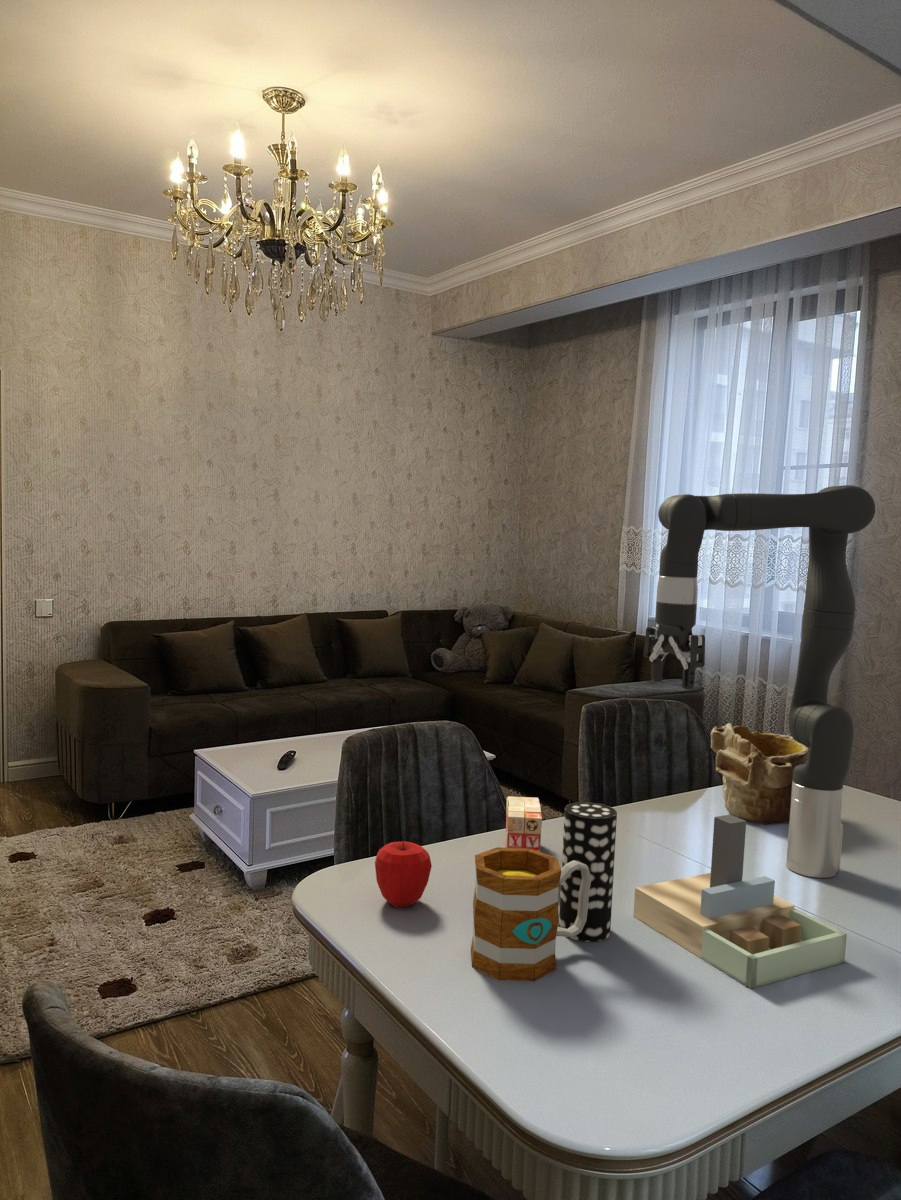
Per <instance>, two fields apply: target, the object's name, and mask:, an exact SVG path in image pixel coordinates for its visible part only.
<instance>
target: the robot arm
mask: <svg viewBox="0 0 901 1200" xmlns="http://www.w3.org/2000/svg"><path fill="white" fill-rule="evenodd" d="M657 513H658V514H657V516H658V521H659V523H660V525H662V526H663V527H664V528H665V529H666V530H668V533H667V539H666V540H667V541H666V545H665V546H664V547H663V548H661V552H660V557H659V574H658V581H657V586H656V587H657V588H656V598H655V599H656V600H655V616H654V617H655V618H654V619H655V621H654V622H655V624H656V625H658V626H651V627H650V626H649V627H646V628H645V636H644V646H643V657H644V658H648V659H649V661H650V662H651V663H650V679H651V681H652V682H662V681H663V677H664V676H663V675H664V674H663V673H664V672H663V671H664V662H663V660H664V659H665V658H666V656H667V655H668V654H671V655H674V656H676V658H677V659H678V660H680V663H681V665H682V667H683V669H682V672H681V673H682V677H681V689H683V690H692V689H693V688H694V686H695V678H696V671H697V669H699V668H703V667H705V665H706V664H705V662H706V661H705V660H706V636H705V635H704V634H693V627H695V626H696V624H697V610H698V608H697V607H698V593H699V592H698V591H699V588H698V586H699V585H698V571H699V570H698V568H699V567H698V566H699V553H700V550H701V547H702V543H703V538H704V535H705V531H712V530H713V531H721V532H737V531H738V532H740V531H741V532H742V531H743V532H745V531H759V530H763V531H764V530H773V529H787V528H808V545H809V546H808V565H807V573H806V574H807V575H806V582H805V596H804V603H803V609H802V610H803V612H802V620H801V621H802V622H801V636H800V645H799V646H800V648H799V654H798V664H797V670H796V677H795V682H794V687H793V692H792V697H791V702H790V706H789V713H788V722H787V723H788V724H787V725H788V730H789V734H790V736H791V737H793V739H794V740H795V741H797V742H798V743H800V744H803V745H805V746H806V747H807V748H808V747H809V748H810V750H809V753H808V754H809V757H808V760H807V762H806V763H804V764H800V765H797V766H796V767H795V768H794V770H793V779H792V793H791V808H790V821H789V822H788V823H789V824H788V837H787V849H786V850H787V851H786V863H785V864H786V867H787V868H788V869H789V870H790V871H792V872H793V873H796V874H799V875H802V876H805V877H810V878H811V877H812V878H816V879H817V878H818V879H820V878H821V879H827V878H832V877H835V876H836V875H837V872H840V869H841V857H842V846H843V845H842V843H843V834H844V833H843V832H844V825H843V823H841V821H842V820H841V819H842V810H843V809H842V808H843V793H844V781H845V779H846V777H847V776H848V773H849V770H850V765H851V756H852V748H853V742H854V730H855V729H854V722H853V719H852V717H851V715H850V713H849V712H848V711H847V710H846V709H845V708H843V707H840V706H837V705H834V704H830V703H828V692H829V684H830V679H831V675H832V674H833V671H834V669H835V668H836V665H837V664H838V662H839V661H840V660H841V659H842V656H843V655H844V654H845V652H846V650H847V649H848V647H849V645H850V643H851V641H852V638H853V633H854V625H855V613H856V599H855V594H854V589H853V586H852V582H851V579H850V574H849V573H848V572H849V571H848V568H847V566H848V565H847V546H848V538H849V534H854V533H857V532H860V531H862V530H863V529H865V528H867V527H868V526H869V525H870V524H871V522H872V521H873V519H874V518H875V514H876V503H875V501H874V498H873V497H872V495H871V494H870V493H869V492H868V491H867V490H866V489H864V488H862V487H860V486H856V485H852V484H851V485H849V484H847V485H846V484H845V485H834V486H833V485H832V486H827V487H824V488H822V489H820V490H819V491H818V492H811V493H797V494H796V493H795V494H793V493H792V494H791V493H789V494H788V493H755V492H754V493H724V494H717V495H694V494H690V493H689V494H688V493H687V494H677V495H671V496H670V497H667V498H666V499H665V500H664V501H663V502H662V503H661V504H660V506H659V508H658V512H657ZM697 657H698V658H697Z"/></svg>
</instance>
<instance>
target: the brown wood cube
mask: <svg viewBox="0 0 901 1200" xmlns="http://www.w3.org/2000/svg"><path fill="white" fill-rule="evenodd" d="M762 933H763V934H764V935H766V936H768V937H769V944H768V947H769V948H771V949H776V948H779V947H783V946H787V945H791V944H795V943H798V942H800V934H801V925H800V924H798V923H796V922H794V921H792V920H790V919H788V918H786V917H784V916H782V915H778V916H774V917H770V918H765V919H763V928H762Z"/></svg>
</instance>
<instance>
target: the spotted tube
mask: <svg viewBox="0 0 901 1200" xmlns="http://www.w3.org/2000/svg"><path fill="white" fill-rule="evenodd" d="M617 817H618V811H617V810H616V809H615V808H613V807H612V806H609V805H607V804H603V803H597V802H589V801H588V802H587V801H582V802H581V801H579V802H572V803H569V804H566V805H565V807H564V816H563V834H562V835H563V836H562V857H561V869H562V868H563V866H564V865H565V864H567V863H569V862H571V861H573V860H575V861H578V862H580V863H583V864H586V865H587V866H588V868H589V872H590V877H591V884H590V891H589V899H588V912H587V920H586V923H585V925H584V927H583V929H582V932H581V933H579V934H577V935H576V936H574V937H568V939H572V940H575V941H579V942H585V943H586V942H587V943H590V942H591V943H595V942H601V941H604V940H607V938H609V936H611V928H612V927H611V926H612V925H611V924H612V907H613V890H614V889H613V887H614V876H615V875H614V873H615V872H614V870H615V854H616V838H617V837H616V836H617V835H616V834H617V821H618V820H617V819H618V818H617ZM581 880H582V875H581V869H580V868H578V869H576V870H575V871H573V872H572V873H571V874H570V875H569V877H568V878H567V879H566V880H565V881H564V882H563V883H561V884H560V892H559V893H560V894H559V909H558V915H559V922H558V927H561V928H565V929H568V928H569V927H571V926H573V925H574V923H575V920H576V918H577V913H578V900H579V890H580V885H581Z"/></svg>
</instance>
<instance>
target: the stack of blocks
mask: <svg viewBox="0 0 901 1200" xmlns="http://www.w3.org/2000/svg"><path fill="white" fill-rule="evenodd" d="M505 806H506V807H505V809H506V810H505V811H506V812H505V816H506V817H505V819H506V821H505V844H504V846H505V847H504V848H530V849H533V850H536V851H539V852H541V851H540V850H541V844H542V843H541V841H542V825H543V817H542V810H541V808H542V807H541V803H540V799H539V797H532V796H531V797H528V796H527V797H526V796H512V795H511V796H507V797H506V805H505Z"/></svg>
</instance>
